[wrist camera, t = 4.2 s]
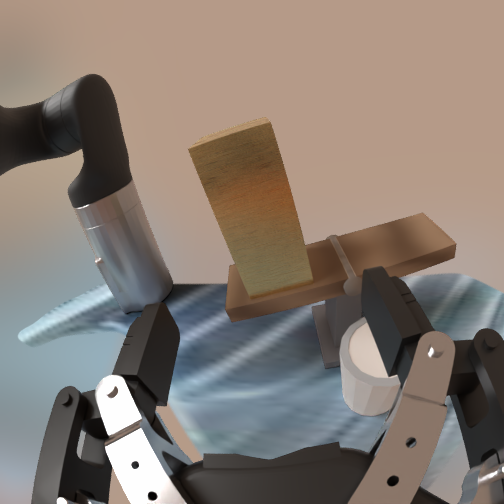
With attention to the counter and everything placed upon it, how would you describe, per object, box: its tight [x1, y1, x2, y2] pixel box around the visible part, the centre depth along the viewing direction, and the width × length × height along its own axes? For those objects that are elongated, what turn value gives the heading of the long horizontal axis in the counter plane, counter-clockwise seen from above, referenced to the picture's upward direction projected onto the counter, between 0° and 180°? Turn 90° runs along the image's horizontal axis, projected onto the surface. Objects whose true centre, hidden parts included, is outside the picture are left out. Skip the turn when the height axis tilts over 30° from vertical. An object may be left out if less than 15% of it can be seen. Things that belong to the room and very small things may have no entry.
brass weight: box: [188, 117, 314, 299], centre depth 20 cm, size 5×5×12 cm
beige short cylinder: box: [340, 317, 400, 416], centre depth 19 cm, size 7×7×7 cm
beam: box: [225, 213, 456, 322], centre depth 22 cm, size 20×7×2 cm, turn 91°
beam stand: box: [312, 293, 362, 369], centre depth 25 cm, size 5×8×8 cm, turn 1°
